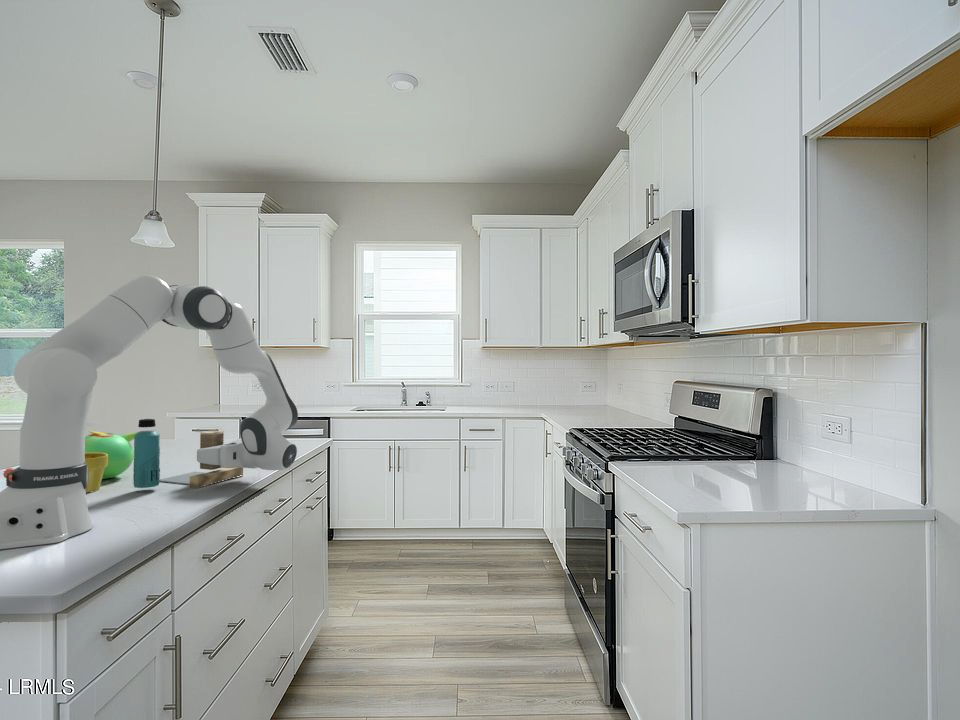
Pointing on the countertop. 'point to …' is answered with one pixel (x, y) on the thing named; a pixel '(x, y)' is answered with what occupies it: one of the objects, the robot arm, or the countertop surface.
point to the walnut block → (210, 444)
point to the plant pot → (95, 469)
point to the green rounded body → (112, 451)
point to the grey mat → (181, 478)
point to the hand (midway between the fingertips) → (209, 449)
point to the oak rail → (214, 476)
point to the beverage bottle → (146, 456)
